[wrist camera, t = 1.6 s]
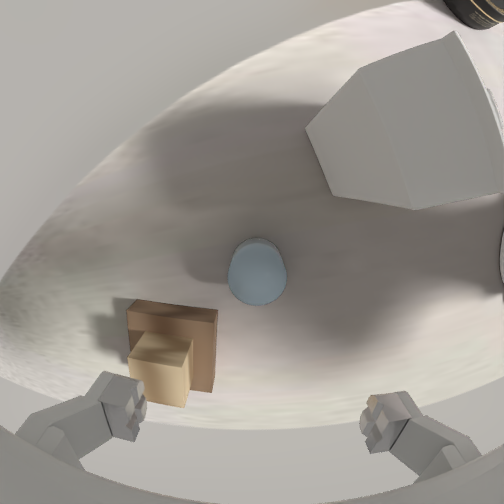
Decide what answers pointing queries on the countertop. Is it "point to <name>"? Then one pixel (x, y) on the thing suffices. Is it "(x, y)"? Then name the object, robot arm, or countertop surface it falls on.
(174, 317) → the walnut pedestal
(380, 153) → the milk carton
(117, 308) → the countertop surface
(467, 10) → the jar
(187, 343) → the oak cube
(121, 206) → the countertop surface
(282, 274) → the ceramic cylinder
